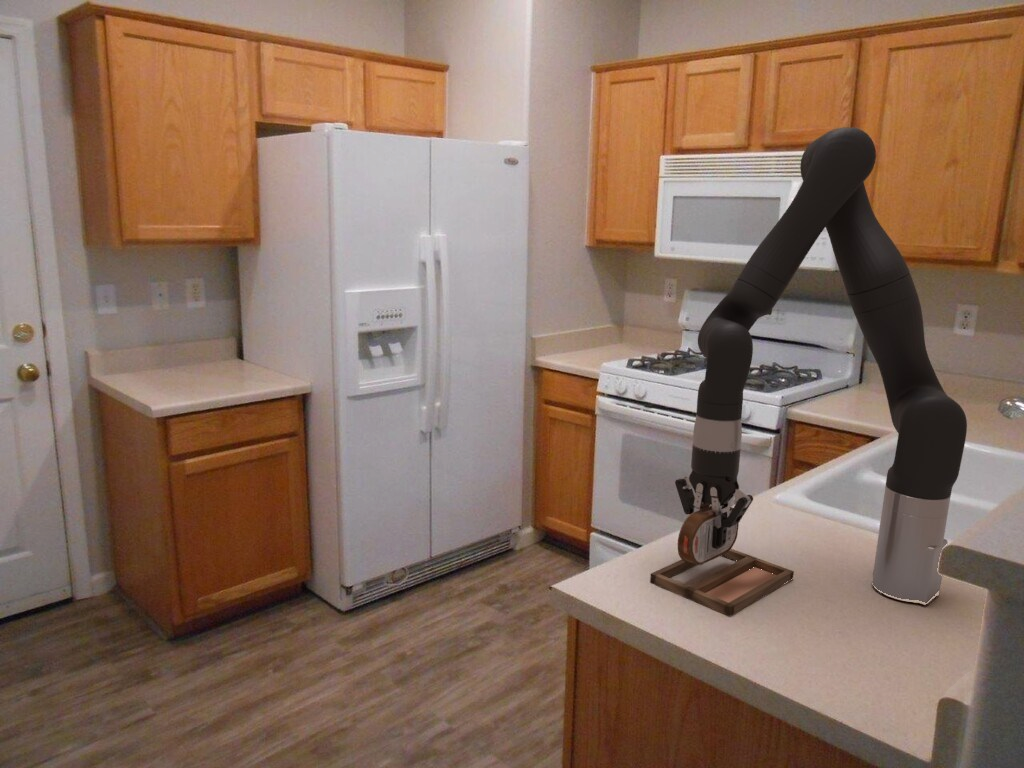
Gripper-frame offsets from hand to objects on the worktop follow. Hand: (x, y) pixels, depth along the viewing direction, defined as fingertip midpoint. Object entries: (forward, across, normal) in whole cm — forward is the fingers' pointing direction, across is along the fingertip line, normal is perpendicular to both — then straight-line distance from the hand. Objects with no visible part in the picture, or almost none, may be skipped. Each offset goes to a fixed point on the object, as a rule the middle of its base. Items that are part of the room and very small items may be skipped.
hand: (708, 543), depth 130 cm
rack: (+5, -3, 0) cm, 6 cm away
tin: (+3, 0, 0) cm, 3 cm away
